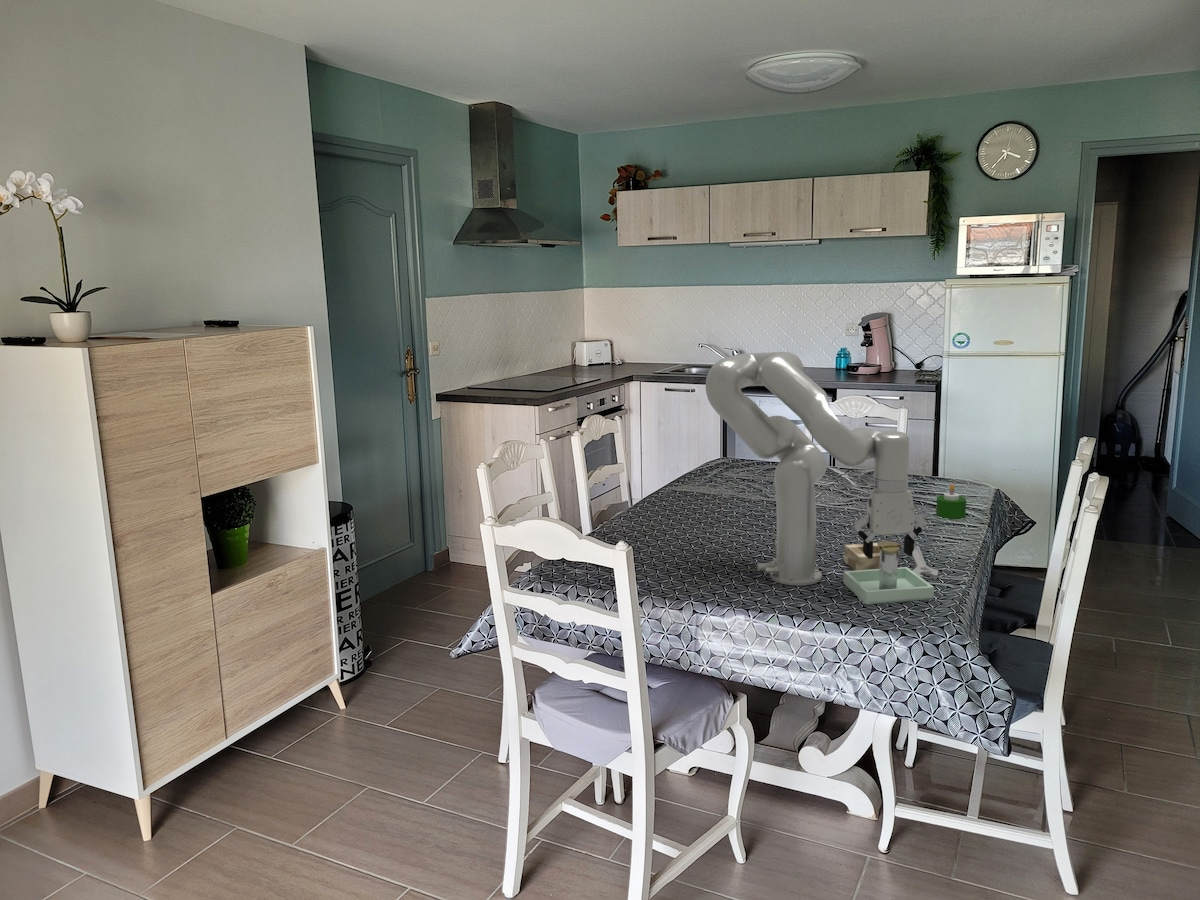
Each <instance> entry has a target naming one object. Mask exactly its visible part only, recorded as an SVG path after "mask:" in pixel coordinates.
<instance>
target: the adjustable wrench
mask: <svg viewBox="0 0 1200 900" xmlns="http://www.w3.org/2000/svg"><path fill="white" fill-rule="evenodd" d="M911 558H913V559H912V561H913V560H914V561H913V563H914V565H915V568H914V569H911V570H912V571H913V572H914V573H916V574H917V575H918V576H920V577H921V578H922V579H924V578H925V576H924V575H927V576H926V577H929V576H930V577H931V578H930V577H929V578H930V579H932V578H933V579H937V578H938V579H939V569H934V568H933V567H930V566H928V565H927V563H926V561H925V559H924V556H923V553H922V551H921V549H920V547H919V545H915V544H914V551H913V554H912V556H911ZM933 579H932V580H933ZM938 579H937V580H938ZM924 580H925V579H924Z"/></svg>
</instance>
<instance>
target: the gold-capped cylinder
mask: <svg viewBox="0 0 1200 900" xmlns="http://www.w3.org/2000/svg"><path fill="white" fill-rule="evenodd" d="M877 543H878V546H877V548H878V550H880V569H879V589H880V590H884V589H897V566H898V567H899V552H900V551H901V550H902V544H901V543H899V542H896V541H890V540H889V541H883V540H882V541H879V542H877Z"/></svg>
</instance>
